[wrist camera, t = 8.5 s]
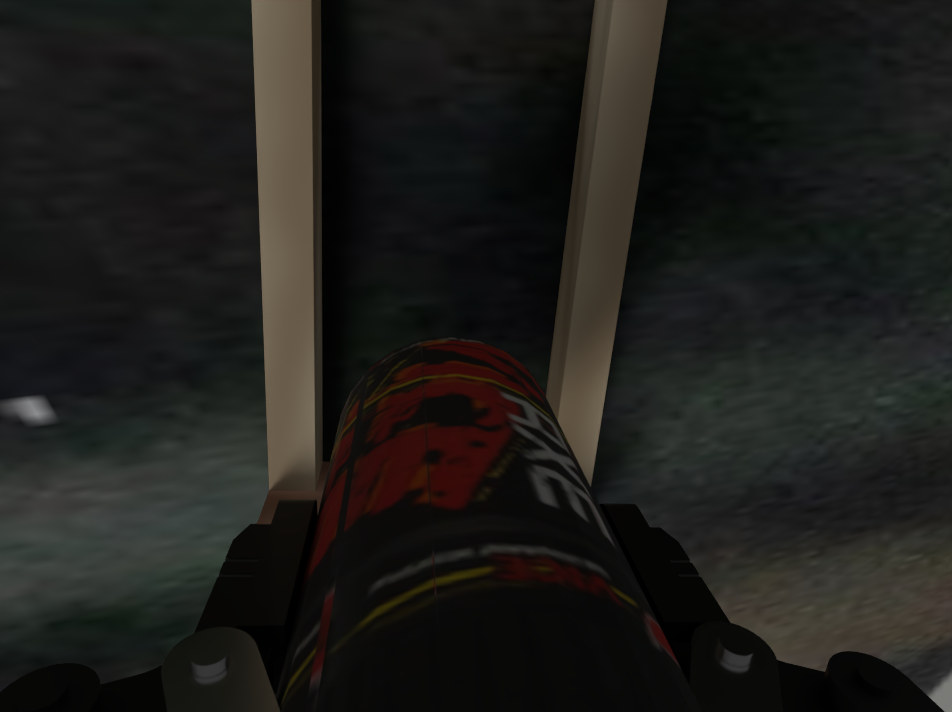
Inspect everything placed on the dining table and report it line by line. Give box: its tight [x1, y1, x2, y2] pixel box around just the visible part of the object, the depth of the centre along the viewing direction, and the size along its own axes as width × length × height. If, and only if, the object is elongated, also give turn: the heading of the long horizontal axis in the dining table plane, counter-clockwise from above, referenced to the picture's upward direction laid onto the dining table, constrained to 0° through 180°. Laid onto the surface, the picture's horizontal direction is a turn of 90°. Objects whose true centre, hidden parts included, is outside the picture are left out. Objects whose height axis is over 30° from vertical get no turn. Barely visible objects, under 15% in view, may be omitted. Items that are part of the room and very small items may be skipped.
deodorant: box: [276, 337, 702, 712], centre depth 11 cm, size 6×6×15 cm
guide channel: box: [252, 0, 667, 524], centre depth 19 cm, size 11×26×4 cm, turn 176°
